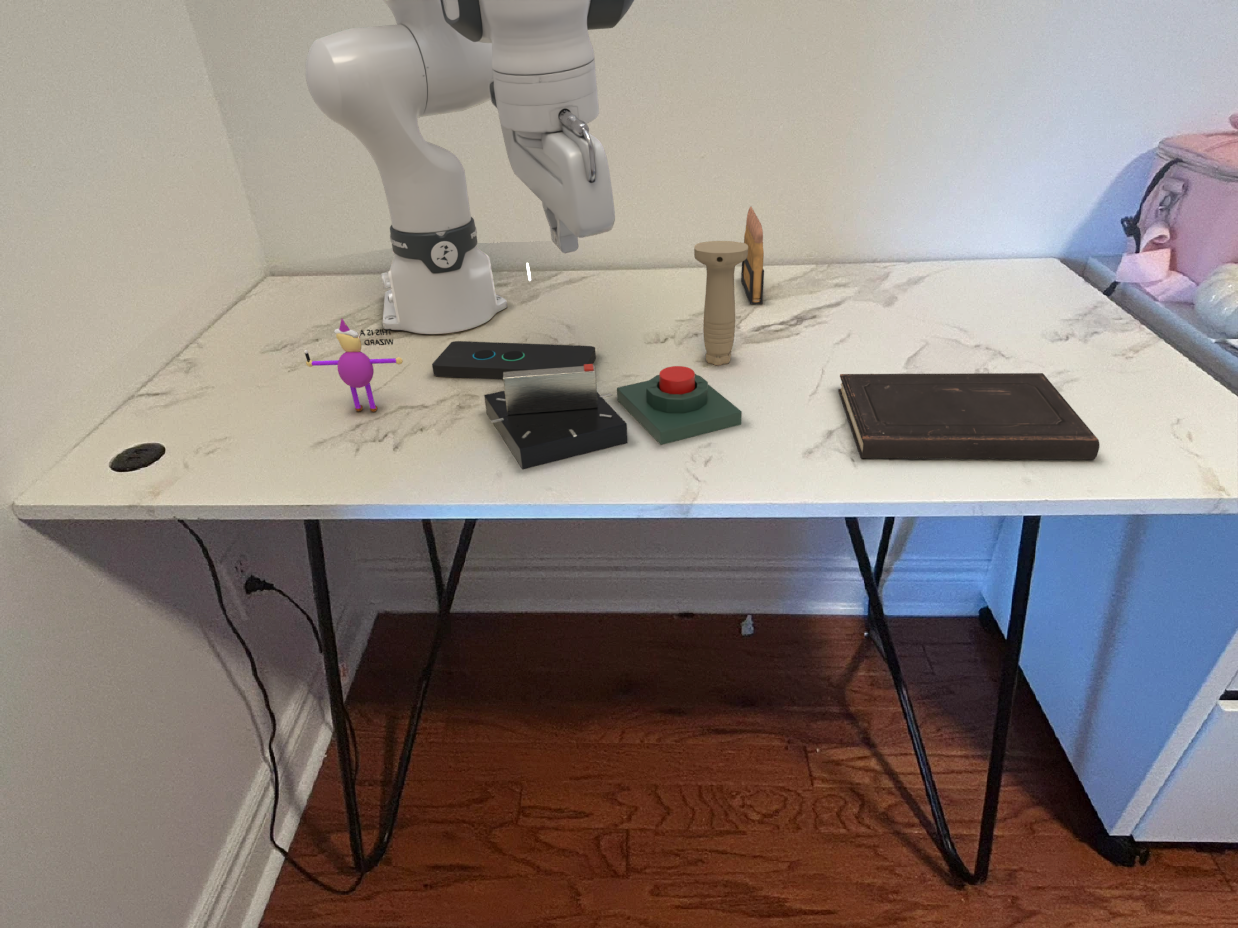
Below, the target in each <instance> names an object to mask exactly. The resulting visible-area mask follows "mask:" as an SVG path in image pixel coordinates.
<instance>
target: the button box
mask: <svg viewBox="0 0 1238 928" xmlns="http://www.w3.org/2000/svg"><path fill="white" fill-rule="evenodd" d="M616 400H617V401H618V403H619V404H620V405H621V406H622V407H623V408H624V409H625V410H626V411H627V412H628V413H629V414H630V415H631V416H632V417H633V418H634V419H635V420H636V421H637V422H638V423H639V424H640V425H641V427H643V429H645V431H646V432H647V433H648V434H649V435H650V436H651V437H652V438H653V439H654V440H655V441H656V442H657V443H658V444H659V445H660V446H663V445H668V444H671V443H675V442H679V441H682V440H686V439H690V438H694V437H698V436H703V435H706V434H710V433H714V432H718V431H721V430H725V429H726V430H727V429H730V428H733V427H737V426H740V425H742V417H743V416H742V415H743V411H742V410H741V409H739V408H738V407H737V406H736V405H734V403H732V402H730V400H729V399H727V398H726V397H724V396H723V395H722V394H721V393H720V392H718V391H717V390H716V389H715V388H714V387H712V386H711V385H710V384H709V382H708V381H707V380H706V379H705V378H704V377H702V376H701V375H699V374H696V373H695V389H694V390H693V391H692V392H689V393H685V394H668V393H665V392H661V390H660V387H659V374H656V375H654V376H653V377H651V378H650V379H649V380H645V381H641V382H635V383H632V384H627V385H623V386H622V385H621V386H619V387H616Z"/></svg>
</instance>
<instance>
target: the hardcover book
mask: <svg viewBox="0 0 1238 928" xmlns="http://www.w3.org/2000/svg"><path fill="white" fill-rule="evenodd" d="M839 379H840V381H841V383H840V388H838V389H837V391H838V395H839V398H840V400H841V403H842V407H843V409H844V412H845V416H846V419H847V421H848V424H849V425H848V426H849V428H850V430H851V433H852V437H853V439H854V442H855V445H856V449H857V451H858V455H859V458H860V459H914V460H915V459H917V460H919V459H921V460H922V459H924V460H925V459H927V460H928V459H929V460H931V459H934V460H935V459H936V460H937V459H941V460H944V459H945V460H946V459H947V460H950V459H951V460H952V459H954V460H956V459H957V460H958V459H960V460H969V459H970V460H1095V459H1096V458H1097V457H1098V454H1099V450H1100V440H1099V439H1098V437H1097V436H1096V435H1095V434H1094V432H1093V431H1092V430H1091V429H1090V428H1089V427H1088V425H1087V424H1086V423H1085V422H1084V420H1083V419H1082V418H1081V417H1080V415H1078V413H1077V412H1076V411H1075V410H1074V409H1073V408H1072V406H1071V405H1070V404H1069V403H1068V401H1067V400H1066V399H1065V398H1064V397H1063V395H1062V394H1061V393H1060V392H1059V390H1057V388H1056V387H1055V386H1054V384H1053V383H1052V382H1051V381H1050V380H1049V378H1048V377H1046V375H1045V374H1044V373H1043V372H1010V373H1009V372H1006V373H1005V372H1004V373H1003V372H999V373H998V372H997V373H996V372H995V373H992V372H988V373H986V372H985V373H983V372H982V373H968V372H967V373H840V374H839Z"/></svg>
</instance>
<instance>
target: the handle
mask: <svg viewBox="0 0 1238 928" xmlns="http://www.w3.org/2000/svg"><path fill="white" fill-rule="evenodd" d="M693 248H694V249H693V255H694V259H695V260H696V261H697V262H699V263H701V264H702V265H704V266H705V269H706V270H705V271H706V281H705V294H704V295H705V296H704V308H703V323H702V325H703V343H704V348H705V351H706V353H705V361H706V362H707V363H708V364H712V365H714V366H717V367H718V366H721V365H729V364H730V363H731V358H732V350H733V346H734V341H735V333H736V303H735V302H736V297H735V296H736V295H735V270H736V266H737V265H739V264H742V262H743V261H744V260H745V259H746V258H747V256H748V245H747V244H745V243H744V242H741V241H735V240H733V241H732V240H710V241H709V240H708V241H701V242H698V243H696V244H694V246H693Z"/></svg>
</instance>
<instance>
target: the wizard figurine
mask: <svg viewBox="0 0 1238 928" xmlns="http://www.w3.org/2000/svg"><path fill="white" fill-rule="evenodd" d="M374 331H376V332H375V336H384V335H385V334H386V336H388V335H389V336H391V334H392V333H391V331H392V330H391V329H385V331H384V328H382V329H381V328H380V329H378V328H377V329H375V330H374ZM374 331H373V329H366V332H367V334H365V332H364V331H363V329H361V330H360V332H357V331H356V330H354V329H350V327H349V326H348V325H347V323H346V321H344V319H343V318H342V317H341V318H340V324H339V328H335V329H334V331H333V333H334V335H335V336H336V340H338V342H339V345H340V347H341V349H342V350H343V351H344V352H343V353H341V355H340V357H339V358H338V359H336V360H335V359H334V360H332V359H331V360H313V359H311V358H310V354H309V351H308V349H305V350H304V351H303V352H304V356H305V359H306V361H305V365H306V366H307V367H309V368H311V367H314V366H315V367H316V366H318V367H319V366H337V367H336V368H337V374H338V376H339V378H340V379H341V381H342V382H343V383H344V384H346V385H347V386H348V387H349V388H350V393H351V397H352V400H353V405H354V411H356V412H362V411H363V410H364V405H362V404H361V402H360V397H359V394H358V391H357V389H361V388H364V389H365V392H366V397H367V400H368V401H367V402H368V405H369V411H370V412H374V413H375V412H376V411H377V410H378V405H376V403H375V399H374V394H373V390H372V386H371V381H372V380H373V378H374V371H375V370H374V365H375V364H377V365H378V364H379V365H380V364H382V365H383V364H396V365H402V364H403V363H404V360H403V358H402V357H399V356H397V357H395V358H394V357H393V358H370V357H369V356H368V355H367V354H366V353H365V352H363V351H362V341H361V336H364V337H366V335H367V336H369V337H371V336H374ZM363 343H364V345H365V346H369V347H370V346H377V345H378V346H386V345H387V346H390V345H391V346H393V344H394V338H392V339H391V338H389V339H387V338H381V339H380V338H379V339H378V338H376V339H375V340H374V339H365V340H364V342H363Z"/></svg>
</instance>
